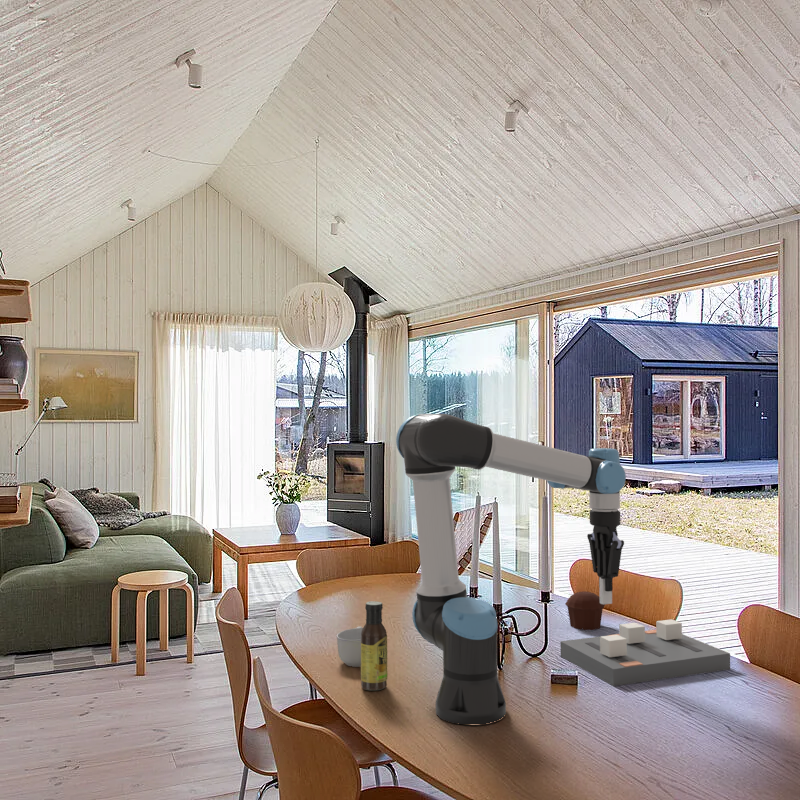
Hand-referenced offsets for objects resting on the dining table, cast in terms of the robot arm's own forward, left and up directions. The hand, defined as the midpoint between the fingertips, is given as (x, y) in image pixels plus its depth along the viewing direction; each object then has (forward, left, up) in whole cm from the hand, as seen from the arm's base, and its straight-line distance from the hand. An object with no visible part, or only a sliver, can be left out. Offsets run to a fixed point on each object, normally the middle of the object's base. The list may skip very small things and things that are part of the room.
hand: (605, 603), depth 198 cm
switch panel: (0, -11, -16) cm, 20 cm away
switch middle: (+5, -11, -12) cm, 17 cm away
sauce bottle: (+7, +59, -17) cm, 62 cm away
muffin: (+35, -16, -17) cm, 42 cm away
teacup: (+28, +57, -17) cm, 65 cm away
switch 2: (+4, -22, -12) cm, 25 cm away
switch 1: (-3, 0, -12) cm, 12 cm away
